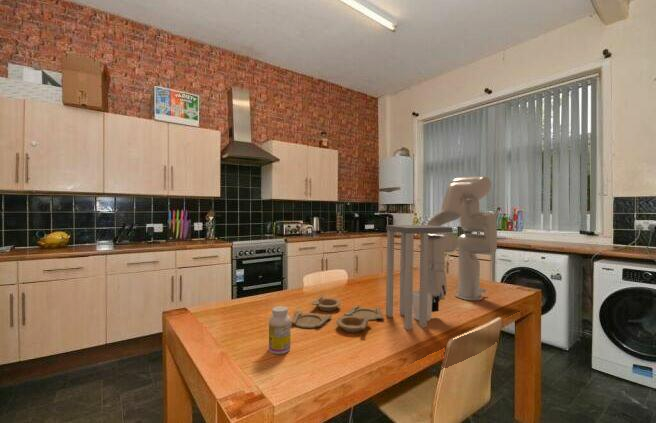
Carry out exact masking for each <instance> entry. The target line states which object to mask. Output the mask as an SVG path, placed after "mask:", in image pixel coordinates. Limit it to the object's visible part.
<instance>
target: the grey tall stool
mask: <svg viewBox="0 0 656 423" xmlns="http://www.w3.org/2000/svg"><path fill="white" fill-rule="evenodd" d="M385 227H386V232H387V233H386V234H387V236H386V281H385V282H386V283H385V286H386V290H385V295H386V296H385V303H386V304H385V316H386V317H388V318H392V317H393V316H394V275H395V274H394V270H395V269H394V268H395V266H394V262H395V260H394V258H395V256H394V255H395V232H396V233H400V270H399V275H400V276H399V278H400V280H399V314H400V315H401V316H404V317H403V318H404V321H403V322H404V324H403V326H404V327H403V328H404V329H405V330H407V331H410V330H412V329H413V290H414V289H413V288H414V287H413V286H414V242H415V241H414V237H415V235H414V234H420V248H419V250H420V251H419V291H420V297H419V320H418V326H419V327H420V328H422V329H423V328H427V327H428V321H427V292H428V235H429V233H440V234H450V233H453V227H452V226H451V227H450V226H443V225H441V226H433V225H427V224H402V225H401V224H399V225H398V224H397V225H396V224H395V225H394V224H389V225H388V224H386V226H385Z"/></svg>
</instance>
